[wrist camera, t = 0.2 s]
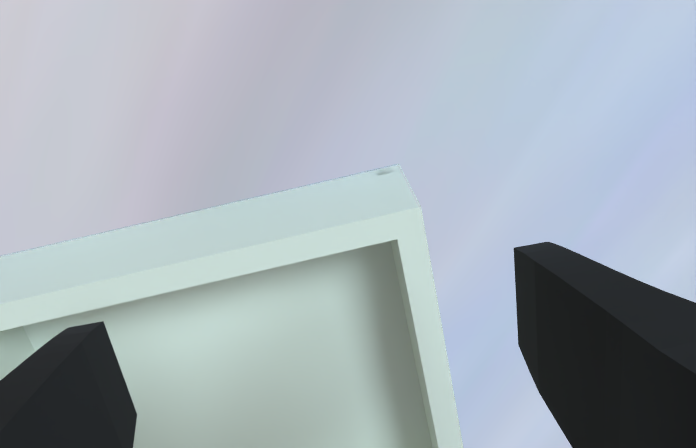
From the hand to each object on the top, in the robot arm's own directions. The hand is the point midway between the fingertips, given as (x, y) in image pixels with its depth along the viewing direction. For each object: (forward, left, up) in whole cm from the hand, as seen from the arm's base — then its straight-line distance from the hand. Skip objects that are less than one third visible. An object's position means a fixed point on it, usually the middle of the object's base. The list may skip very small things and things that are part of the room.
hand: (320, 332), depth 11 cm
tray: (-8, +4, -10) cm, 13 cm away
